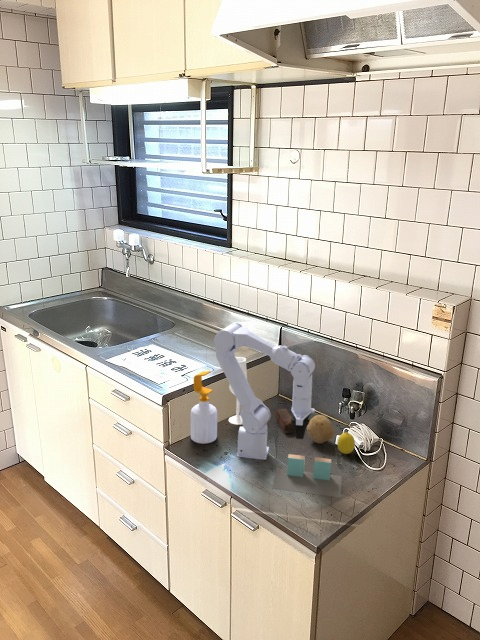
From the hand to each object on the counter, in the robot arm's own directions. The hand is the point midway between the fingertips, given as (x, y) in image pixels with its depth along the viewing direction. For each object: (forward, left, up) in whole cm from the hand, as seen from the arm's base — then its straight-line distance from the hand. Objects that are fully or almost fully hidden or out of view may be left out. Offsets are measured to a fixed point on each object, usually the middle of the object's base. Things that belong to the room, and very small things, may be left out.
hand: (300, 435), depth 174 cm
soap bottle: (-33, +10, -11) cm, 36 cm away
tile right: (+8, -6, -10) cm, 14 cm away
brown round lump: (+6, +16, -11) cm, 20 cm away
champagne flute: (-24, +25, -11) cm, 36 cm away
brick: (-7, +24, -11) cm, 27 cm away
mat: (+4, -10, -10) cm, 15 cm away
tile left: (0, -6, -10) cm, 12 cm away
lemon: (+15, +10, -11) cm, 20 cm away
